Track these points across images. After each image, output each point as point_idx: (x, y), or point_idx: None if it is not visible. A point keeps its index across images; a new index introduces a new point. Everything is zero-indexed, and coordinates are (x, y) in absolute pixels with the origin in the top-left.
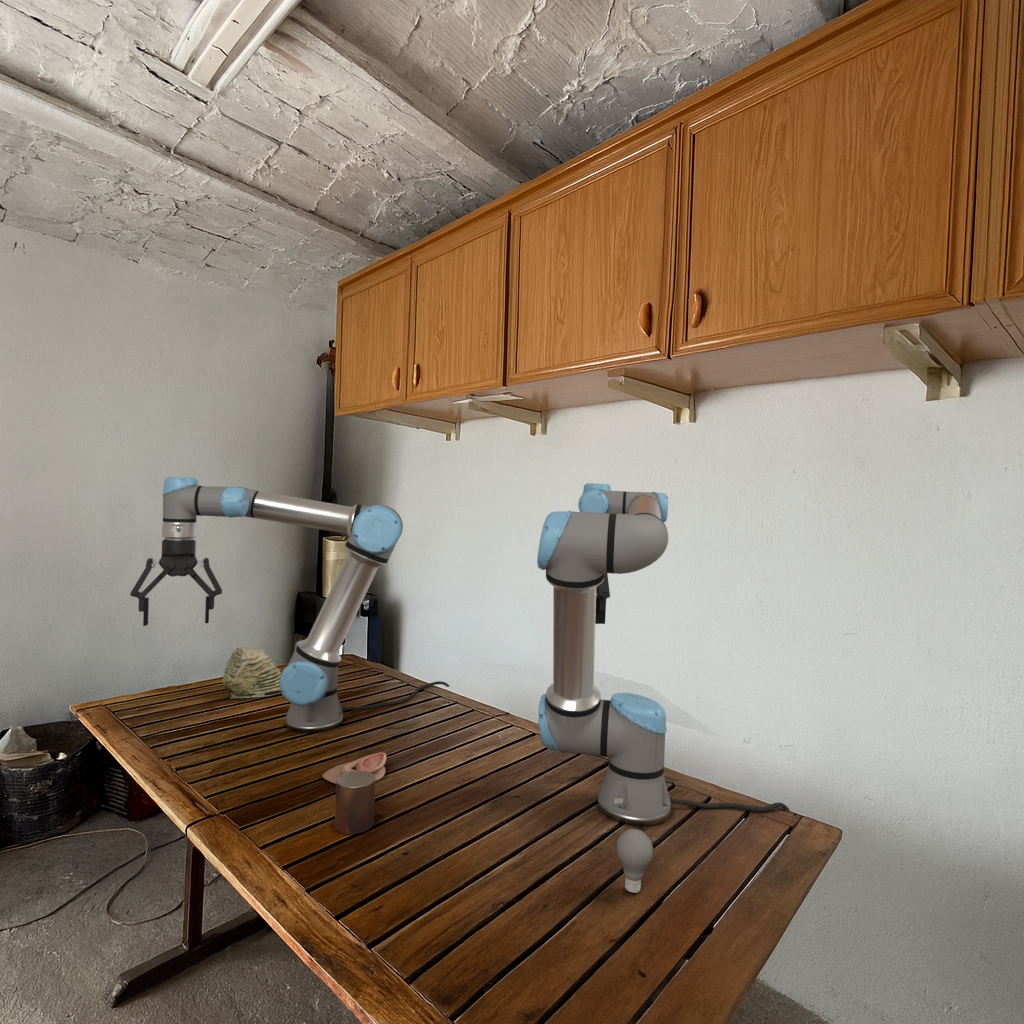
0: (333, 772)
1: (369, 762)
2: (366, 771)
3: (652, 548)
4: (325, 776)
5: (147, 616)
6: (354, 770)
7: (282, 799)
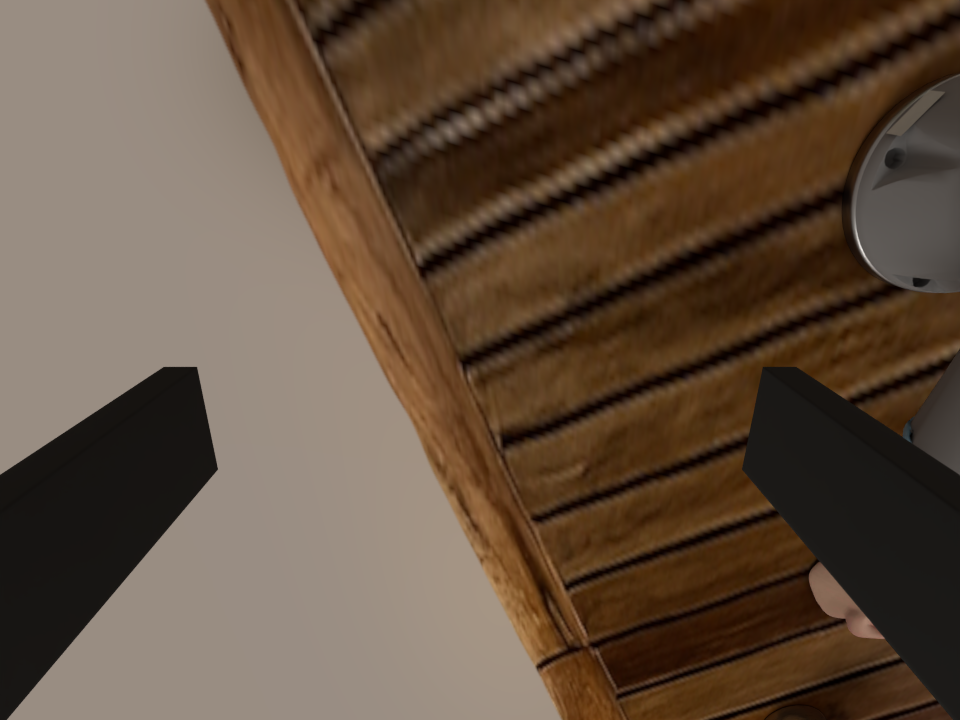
0: (836, 593)
1: None
2: None
3: None
4: (814, 585)
5: (160, 479)
6: None
7: (704, 629)
